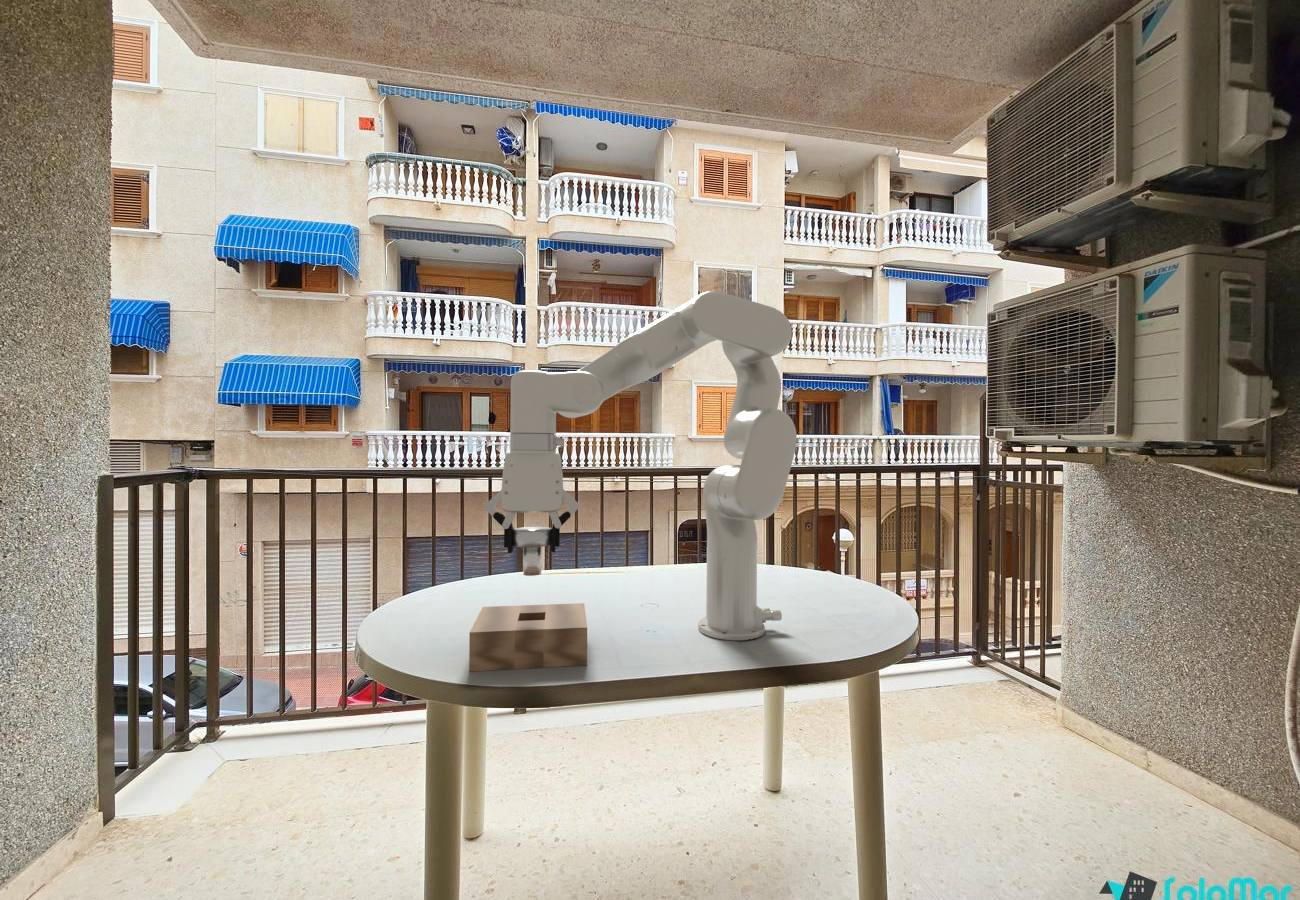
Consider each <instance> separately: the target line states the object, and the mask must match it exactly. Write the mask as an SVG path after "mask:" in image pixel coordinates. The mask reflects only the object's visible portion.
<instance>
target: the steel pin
mask: <svg viewBox="0 0 1300 900" xmlns="http://www.w3.org/2000/svg"><path fill="white" fill-rule="evenodd" d="M513 546H514V547H516V548H522V550H523V551H522V573H523V576H527V577H532V576H533V577H534V576H535V577H536V576H539V575H542V548H543V547H547V546H551V527H548V526H524V527H516V528H514V529H513Z"/></svg>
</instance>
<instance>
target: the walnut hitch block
mask: <svg viewBox="0 0 1300 900" xmlns="http://www.w3.org/2000/svg"><path fill="white" fill-rule="evenodd" d="M468 651H469V658H468V659H469V660H468V661H469V662H468V664H469V665H468V666H469V667H468V668H469V669H468V671H469V672H484V671H500V670H501V671H502V670H503V671H504V670H520V669H523V670H524V669H539V668H541V669H542V668H559V667H560V668H561V667H563V668H564V667H579V666H587V665H588V623H587V615H586V607H585V603H583V602H577V603H555V604H553V603H552V604H549V603H548V604H530V605H529V604H528V605H527V604H526V605H525V604H523V605H522V604H521V605H500V606H499V605H497V606H482V607H481V610H480V611H479V614H478V615H477V618H476V619H475V621H474V622H473V625H472V627H471V629H470V631H469V649H468Z"/></svg>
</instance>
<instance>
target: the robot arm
mask: <svg viewBox="0 0 1300 900" xmlns="http://www.w3.org/2000/svg"><path fill="white" fill-rule="evenodd" d="M791 325H792V324H791V323H790V319H788V317H787V316H786V315H785V314H784V313H783V312H782V311H780V310H779V309H776V308H774V307H772V306H769V305H766V304H763V303H760V302H756V301H753V300H749V299H746V298H743V297H739V296H736V295H732V294H730V293H725V292H720V291H709V290H708V291H706V292H702V293H700V294H698V295H696V296H695V297H693V298H692V299H690V300H688V301H687V302H685V303H683V304H682V305H680V306H678V307H677V308H674V310H672V311H670V312H668V313H666V314H665V315H663V316H661V317H660V318H658V319H656V320H654V321H653V322H650V323H649V324H648V325H646V326H644V327H643V328H640V329H639V330H638V331H634V333H632V334H629V336H627V337H626V338H625V339H623V340H621V341H620V342H618V343H617V344H616V345H615V346H614V347H613V348H611V349H610V350H608V351H607V352H606V353H604V354H601V356H599V357H598V358H596V359H594V360H593V361H591V362H590V363H588V364H586V365H584V366H583V367H581V368H579V369H577V370H576V371H565V372H563V371H561V372H548V371H542V370H531V369H530V370H519V371H516V372H515V373H513V374H512V376H511V380H510V421H509V422H510V424H509V425H510V434H509V436H510V437H509V438H510V439H509V440H510V441H509V446H510V447H509V449H510V451H509V452H506V454H505V457H504V462H503V463H504V464H503V471H502V477H501V490H499V491H498V493H496V494H495V495H493V497H491V499H489V500H488V501H487V502H486V503H485V504H484V506H483V507H484V509H485V511H487V513H488V514H489V516H490V515H491V517H492V518H493V519H494V520H495V521H496V522H497V523H498V524H499V525H500V526H501V527H502V528H503V546H504V547H503V548H507V554H512V553H513V552H514V550H515V546H513V529H515V527H514V526H513V523H512V522H513V521H514V518H515V516H516V514H517V513H520V514H521V513H522V514H523V513H524V514H525V513H529V514H530V513H532V514H533V513H534V514H535V513H547V514H548V515H549V517H550V520H551V522H552V527H550V528H551V545H550V552H551V553H556V547H560V544H561V543H560V541H561V540H560V538H561V536H560V534H561V533H560V531H561V529H560V528H561V527H562V526H563V525H564V524H565V523H566V522H567V521H568V520H569V519H571V517H572V516H573V515H574V514H575V513H576V512H577V511H578V510H579V508H580V504H579V502H578V501H576V500H575V498H573V497H572V496H571V495H570V494H569V493H568V492H567V491H566V490H565V489H564V474H563V473H564V472H563V463H562V462H563V461H562V457H561V454H560V453H557V452H556V449H558V448H561V447H564V446H565V438H561V437H558V436H557V435H556V434H557V414H559V415H561V416H562V417H564V418H568V419H575V418H579V417H584V416H587V415H588V416H589V415H591V414H593V413H595V412H596V411H597V410H598V409H599V408H600V407H601V405H602V404H603V402H605V401H606V400H608V399H609V398H611V397H613V396H615V395H616V394H618V393H621V392H622V391H625V390H626V389H628V388H630V387H633V386H636V385H638V384H641V383H644V382H646V381H648V380H649V379H652V378H654V377H655V376H658V375H659V374H660V373H662V372H664V371H666V370H667V369H669V368H670V367H672V366H674V365H676V364H677V363H679V362H680V361H682V360H683V359H684V358H687V357H689V356H690V355H692V354H693V353H695V352H697V351H698V350H700V349H701V348H703V347H704V346H706V345H708V344H710V343H712V342H715V341H721V345H722V351H723V353H724V355H725V356H726V359H727V360H728V361H729V362H730V363H731V366H732V367H733V370H734V371H735V375H736V381H737V382H736V384H737V385H736V389H735V395H734V399H733V402H732V405H731V408H730V409H731V410H730V412H729V413H730V414H729V416H728V419H727V423H726V428H725V430H724V435H723V444H724V445H723V446H724V447H725V450H726V452H727V453H728V454H729V455H730V456H732V457H734V458H736V459H740V460H741V462H740V464H725V465H720V466H718V467H716V468H714V469H713V470H712V471H711V472H710V473H709V474H708V475H707V477H706V479H705V481H704V482H703V483H704V484H703V491H702V497H703V499H702V500H703V506H704V513H705V521H706V606H705V607H706V609H705V610H706V615H705V616H706V617H703V618H702V619H700V620H699V621H698V626H697V627H698V630H699V632H700V633H702V634H703V635H705V636H707V637H710V638H714V639H719V640H724V641H749V639H750V640H755V639H757V638H760V637H762V636H763V635H764V634H765V633H766V627H765V623H767V621H771V622H776V621H782V618H783V617H782V616H783V615H782V612H781V610H780V609H776V610H774V609H773V610H771V609H770V608H769V607H768V608H767V607H766V608H765V607H764V608H761V607H759V606H758V602H757V601H758V600H757V598H758V593H757V592H758V589H757V588H758V585H757V584H758V582H757V581H758V575H757V574H758V532H757V527H756V521H761V520H766V519H767V518H769V517H771V516H772V515H773V514H774V513H775V512H776V511H777V510H778V508H779V506H780V505H781V502H782V499H783V497H784V494H785V490H786V487H787V483H788V480H789V475H790V472H791V468H792V464H793V460H794V458H795V454H796V449H797V439H798V438H797V429H796V426H795V424H794V422H793V419H792V418H791V416H790V415H788V414H787V412H785V411H783V410H781V409H779V408H778V407H779V403H780V398H781V393H782V392H781V391H782V379H781V376H780V373H779V370H778V367H777V366H776V364H775V363H774V360H773V358H772V357H774V356H777V355H778V354H780V353H782V352H783V351H784V350H785V349H786V348H787V347H788V346H789V343H790V342H791V340H792V335H793V334H792V332H793V331H792V326H791ZM564 502H565V503H567V504H568V508H567V509H566V510H565V511H564V512H563V513H562V514H560V516H559V513H558V512H559V511H560V510H562V508H563V504H564ZM498 503H500V504H501V508H502V511H503V510H504V512H507V513H506V515H504V514H503V513H502V512H501V511H499V509H497V507H496V505H498ZM764 632H765V633H764ZM754 638H755V639H754Z"/></svg>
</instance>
